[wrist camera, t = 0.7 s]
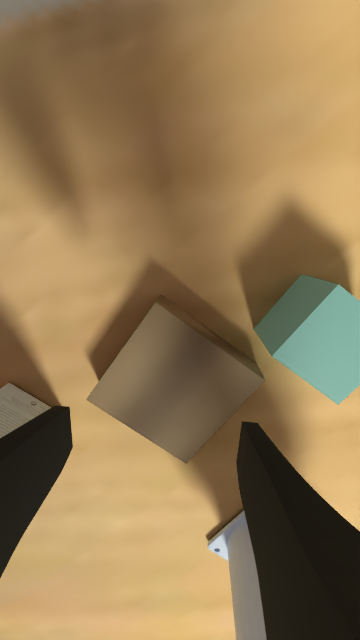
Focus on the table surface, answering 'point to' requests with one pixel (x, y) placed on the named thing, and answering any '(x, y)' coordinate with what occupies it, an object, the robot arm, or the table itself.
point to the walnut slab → (176, 381)
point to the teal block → (316, 335)
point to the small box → (17, 408)
